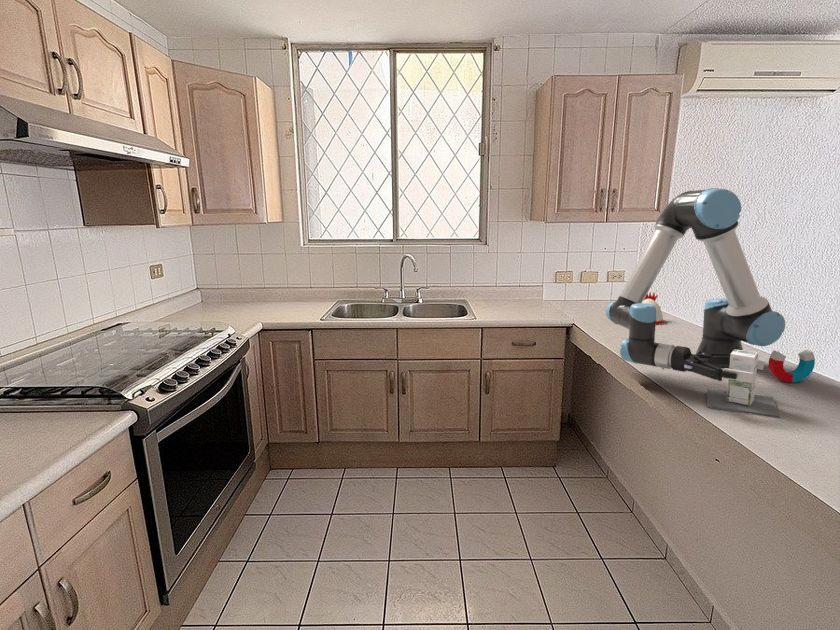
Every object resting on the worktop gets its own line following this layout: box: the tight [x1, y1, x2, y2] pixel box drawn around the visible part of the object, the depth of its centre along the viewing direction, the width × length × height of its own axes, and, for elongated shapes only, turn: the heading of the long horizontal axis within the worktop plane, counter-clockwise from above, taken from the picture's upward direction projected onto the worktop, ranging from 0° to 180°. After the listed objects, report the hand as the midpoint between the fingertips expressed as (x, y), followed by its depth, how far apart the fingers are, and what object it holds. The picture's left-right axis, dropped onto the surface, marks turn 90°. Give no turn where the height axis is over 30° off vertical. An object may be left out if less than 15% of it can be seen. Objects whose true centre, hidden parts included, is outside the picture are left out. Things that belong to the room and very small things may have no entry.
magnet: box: [768, 349, 816, 383], centre depth 142 cm, size 12×3×10 cm, turn 84°
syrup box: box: [726, 349, 759, 406], centre depth 128 cm, size 6×6×14 cm
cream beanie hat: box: [642, 291, 664, 326], centre depth 227 cm, size 14×14×15 cm
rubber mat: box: [706, 388, 780, 418], centre depth 129 cm, size 14×16×1 cm
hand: (758, 371), depth 125 cm, fingers open, 13 cm apart
